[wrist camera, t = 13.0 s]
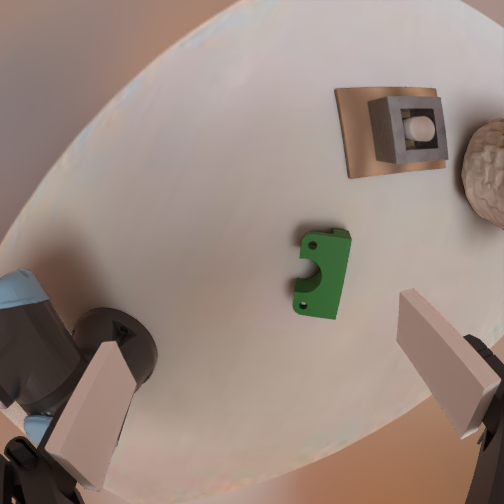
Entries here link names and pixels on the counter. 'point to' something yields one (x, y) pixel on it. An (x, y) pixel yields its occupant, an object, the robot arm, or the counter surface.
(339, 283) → the clamp
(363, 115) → the post board
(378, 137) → the collar
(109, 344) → the robot arm
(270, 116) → the counter surface
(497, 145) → the ceramic vessel
